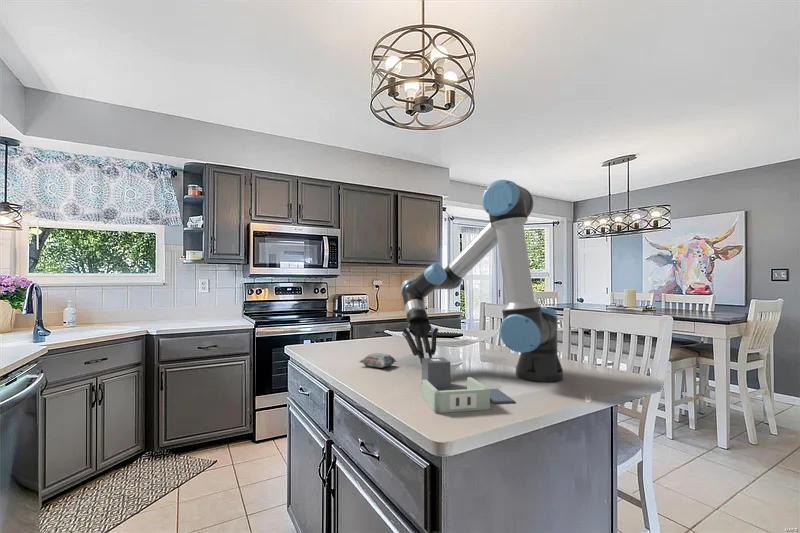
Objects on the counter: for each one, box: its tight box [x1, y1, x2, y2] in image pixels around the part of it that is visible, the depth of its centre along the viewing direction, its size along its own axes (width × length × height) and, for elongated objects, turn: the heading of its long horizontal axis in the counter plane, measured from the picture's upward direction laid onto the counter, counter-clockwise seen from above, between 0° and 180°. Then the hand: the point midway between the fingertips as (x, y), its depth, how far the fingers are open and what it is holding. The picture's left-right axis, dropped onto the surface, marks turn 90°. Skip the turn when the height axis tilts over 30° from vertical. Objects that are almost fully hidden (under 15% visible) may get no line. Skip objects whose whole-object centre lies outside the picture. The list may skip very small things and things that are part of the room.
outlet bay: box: [421, 376, 491, 414], centre depth 103 cm, size 14×12×5 cm
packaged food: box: [357, 352, 397, 369], centre depth 145 cm, size 9×12×5 cm
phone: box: [489, 388, 516, 405], centre depth 109 cm, size 6×12×1 cm, turn 9°
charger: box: [421, 357, 451, 390], centre depth 119 cm, size 7×7×8 cm
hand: (429, 372), depth 124 cm, fingers closed
